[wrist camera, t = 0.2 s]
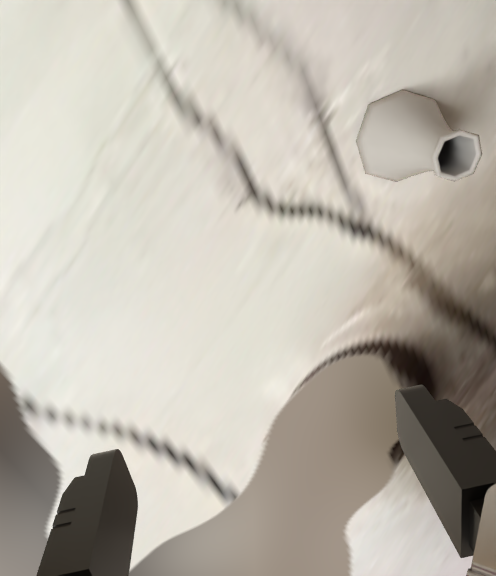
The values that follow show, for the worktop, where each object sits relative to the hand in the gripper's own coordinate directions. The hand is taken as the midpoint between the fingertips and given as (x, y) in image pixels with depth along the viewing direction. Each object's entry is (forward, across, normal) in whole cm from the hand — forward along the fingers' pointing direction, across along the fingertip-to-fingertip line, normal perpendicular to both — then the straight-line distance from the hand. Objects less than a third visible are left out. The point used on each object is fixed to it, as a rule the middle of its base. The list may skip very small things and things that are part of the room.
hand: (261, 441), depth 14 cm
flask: (+29, -15, -2) cm, 33 cm away
